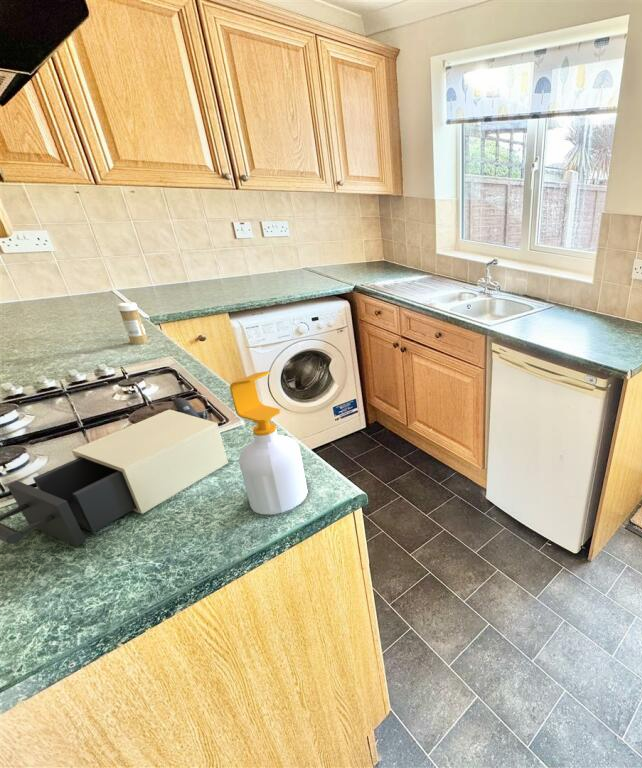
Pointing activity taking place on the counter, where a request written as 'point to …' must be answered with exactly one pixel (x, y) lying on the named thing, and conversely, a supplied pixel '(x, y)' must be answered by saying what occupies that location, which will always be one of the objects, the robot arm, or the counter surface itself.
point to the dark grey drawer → (70, 501)
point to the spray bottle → (267, 455)
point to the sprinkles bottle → (132, 323)
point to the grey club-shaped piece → (189, 408)
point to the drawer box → (159, 455)
